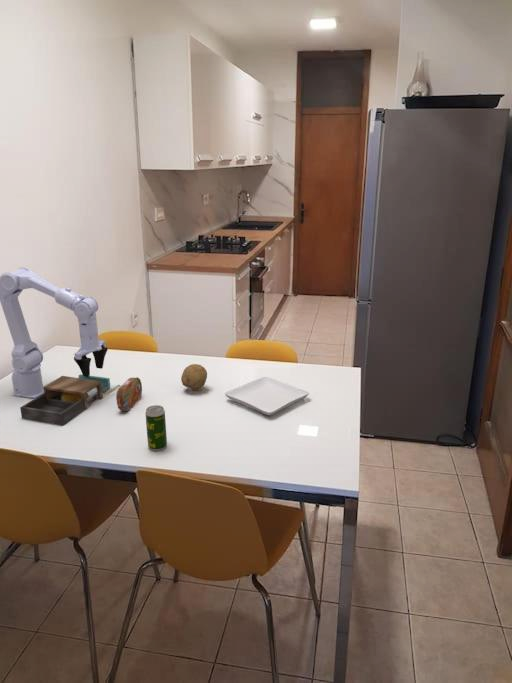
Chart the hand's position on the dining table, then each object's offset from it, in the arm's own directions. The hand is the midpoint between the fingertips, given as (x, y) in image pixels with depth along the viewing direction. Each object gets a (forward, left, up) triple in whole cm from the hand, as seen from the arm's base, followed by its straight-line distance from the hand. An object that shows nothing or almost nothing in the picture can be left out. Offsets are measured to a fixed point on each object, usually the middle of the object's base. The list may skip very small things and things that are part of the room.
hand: (93, 372), depth 181 cm
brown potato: (+30, +16, -10) cm, 35 cm away
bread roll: (-6, -4, -10) cm, 12 cm away
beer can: (+36, -23, -10) cm, 44 cm away
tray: (-6, -4, -10) cm, 12 cm away
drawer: (-6, -1, -9) cm, 11 cm away
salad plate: (+57, +16, -10) cm, 60 cm away
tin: (+14, -1, -10) cm, 17 cm away
